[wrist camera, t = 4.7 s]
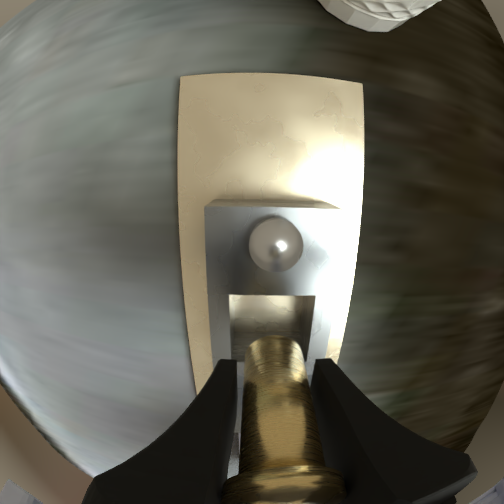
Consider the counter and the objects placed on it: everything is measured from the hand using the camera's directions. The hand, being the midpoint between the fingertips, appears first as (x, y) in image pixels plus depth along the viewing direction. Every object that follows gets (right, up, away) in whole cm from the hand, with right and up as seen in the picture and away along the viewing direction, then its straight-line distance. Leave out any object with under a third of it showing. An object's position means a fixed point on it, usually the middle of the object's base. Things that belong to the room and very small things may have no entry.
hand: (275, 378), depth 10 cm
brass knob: (0, 0, +1) cm, 1 cm away
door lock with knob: (0, +2, +7) cm, 7 cm away
